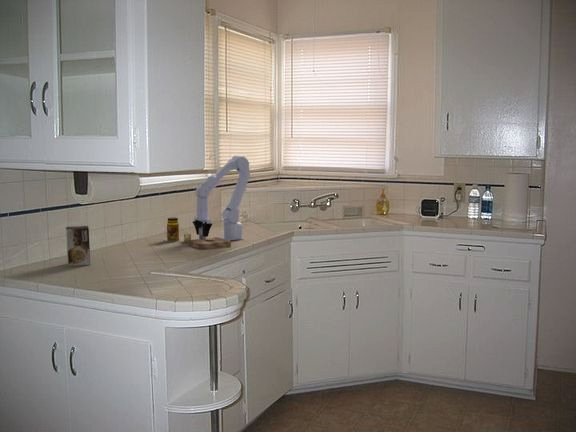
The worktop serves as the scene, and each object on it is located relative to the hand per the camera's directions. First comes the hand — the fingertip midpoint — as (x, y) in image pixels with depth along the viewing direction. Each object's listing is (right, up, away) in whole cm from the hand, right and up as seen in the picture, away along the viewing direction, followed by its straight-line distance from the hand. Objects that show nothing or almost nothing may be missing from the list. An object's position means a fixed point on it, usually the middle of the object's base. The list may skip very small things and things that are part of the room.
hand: (202, 235), depth 334 cm
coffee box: (-45, -11, -58) cm, 74 cm away
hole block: (+5, -5, -12) cm, 14 cm away
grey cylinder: (0, -3, 0) cm, 3 cm away
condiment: (-16, -3, +1) cm, 16 cm away
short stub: (-7, -3, -1) cm, 8 cm away
